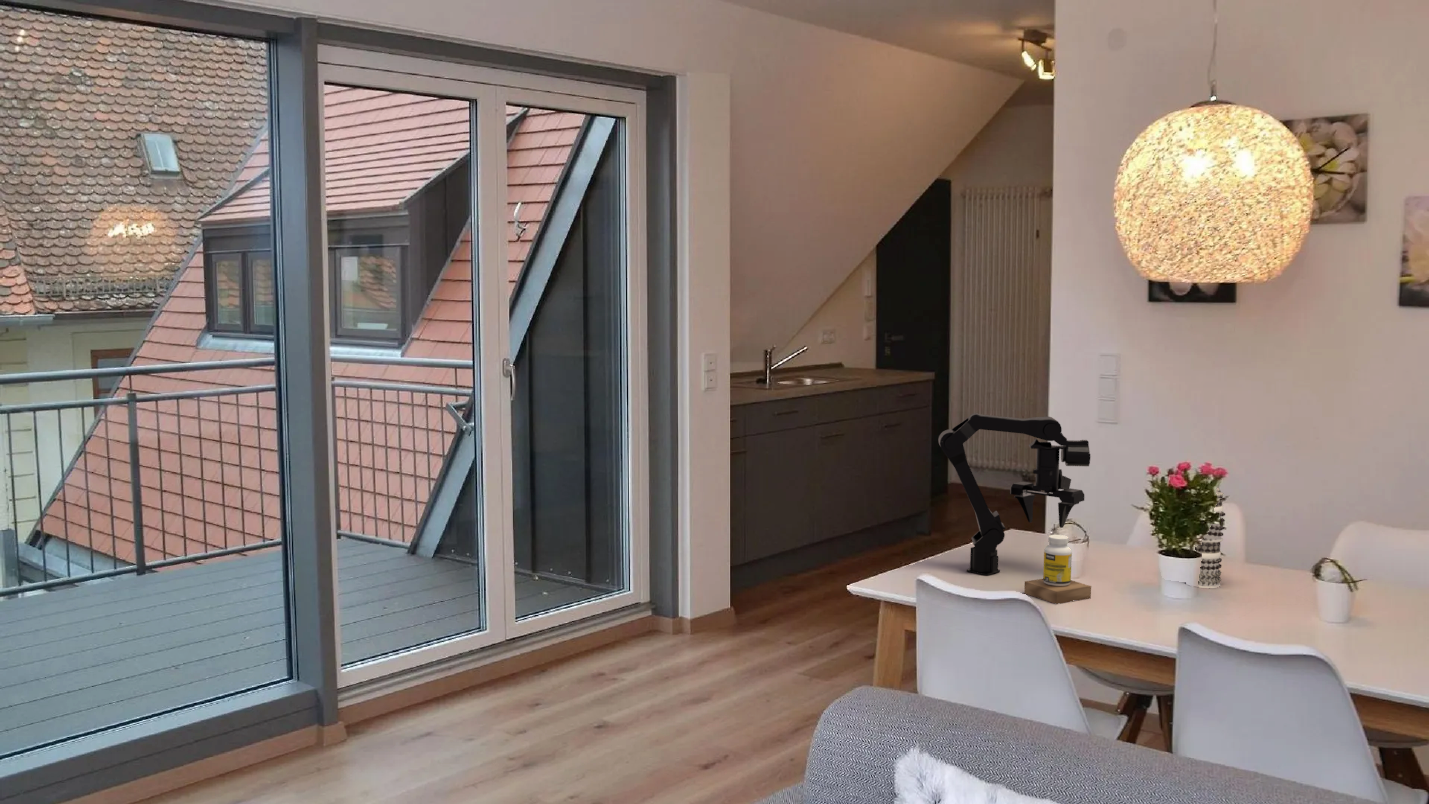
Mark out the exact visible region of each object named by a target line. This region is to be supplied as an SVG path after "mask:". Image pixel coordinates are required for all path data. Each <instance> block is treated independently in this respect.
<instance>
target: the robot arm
mask: <svg viewBox="0 0 1429 804" xmlns="http://www.w3.org/2000/svg"><path fill="white" fill-rule="evenodd" d="M1062 429H1063V428H1062V426H1061V424H1060V422H1059V421H1058V420H1056V419H1055V418H1053V417H1051V416H1047V415H1046V416H1035V417H1028V418H1021V417H1020V418H1019V417H1011V416H1010V417H1009V416H1002V415H1001V416H1000V415H990V414H989V415H988V414H982V413H981V414H980V413H978V412H973V413H971V414H970V415H969V416H968V417H966V418H965V419H964V420H963V421H961V422H960V423H958V424H957V425H955V426H954V427H953V428H951V429H946V430H943V431H942V432H941V433H940V434H939V435H938V444H939V446H940V449H941V451H942V452H943V454H944V455H945V456H946V457H947V459H948V460H949V462H950V463H951V465H952V466H953V467H954V469H955V472H956V474H957V475H958V478H959V481H960V482H961V485H962V486H963V489H964V491H965V494H966V495H967V498H968V499H969V502H970V505H971V506H972V508H973V511H974V513H975V518H976V522H977V525H978V526H977V527H978V531H977V532H976V533H975V534H974V535H973V536H971V540H972V541H971V542H972V545H973V546H971V547H970V555H969V556H970V557H969V559H970V560H969V561H970V563H969V564H970V565H969V568H967V569H966V572H967V573H968V572H969V573H973V574H976V575H977V574H978V575H981V576H990V575H993V574H996V573H997V574H998V573H999V572H1000V573H1001V569H999V555H998V549H997V547H998V546H999V545H1001V543H1002V542H1003V541H1004V539H1005V536H1006V535H1005V531H1004V530H1006V526H1005V524H1004V523H1003V522H1002V520H1001V517H1000V516H1001V515H1000V514H999V512H998V511H997V510H995V511H993V512H992V511H991V510H990V508H989V506H988V504H987V502H986V500H985V497H984V496H983V493H982V491H981V489H980V487H979V484H978V483H977V480H976V479H975V476H974V474H973V472H972V469H971V468H970V465H969V463H968V460H967V459H968V458H967V455H966V451H965V446H964V443H966V442H967V441H968V440H969V439H970V438H971V437H973V435H975V433H976V432H978V431H979V430H984V431H992V432H993V431H995V432H1003V433H1013V434H1014V433H1015V434H1022V435H1023V434H1024V435H1027V436H1029V437H1033V438H1034V440H1033V441H1032V442H1031V443H1029V444H1028V447H1029V448H1030V449H1031V450H1032V449H1033V450H1036V459H1035V460H1036V463H1035V464H1036V465H1035V469H1033V470H1032V473H1033V474H1035V484H1034V482H1027V481H1019V482H1014V483H1012V484H1011V485H1010V488H1009V490H1010V491H1009V493H1010V495H1014V499H1016V500H1017V501H1018V504H1019V505H1020V506H1021V508H1022V510H1023V512H1024V515H1025V517H1026V520H1027V522H1028V523H1033V517H1034V512H1033V511H1034V510H1033V509H1034V500H1035V497H1036V495H1039V496H1045V497H1051V498H1053V497H1054V498H1058V499H1059V500H1060V502H1058V503H1057V506H1058V509H1057V511H1058V525H1059V528H1060V529H1062V528H1064V526H1065V525H1066V521H1067V520H1068V517H1069V514H1070V512H1071V510H1072V509H1073V507H1075V506H1076V505H1079V503H1081V502H1084V501H1085V493H1084V491H1083V490H1082V489H1077V488H1070V487H1071V483H1072V478H1070V477H1067V476H1064V475H1063V470H1062V469H1060V461H1061V462H1062V463H1065V467H1090V464H1091V453H1090V452H1091V451H1090V444H1089V441H1088V440H1087V439H1081V440H1069V439H1068V438H1067V437H1066V436H1064V434H1063V433H1062ZM1038 439H1039V440H1042V441H1039V440H1038ZM1051 442H1054V443H1056V444H1057V445H1052V443H1051Z"/></svg>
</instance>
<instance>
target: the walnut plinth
mask: <svg viewBox="0 0 1429 804" xmlns="http://www.w3.org/2000/svg"><path fill="white" fill-rule="evenodd" d="M1023 586H1024V588H1023V589H1024V594H1025V595H1028V596H1031V597H1034V598H1037V599H1039V600H1043V601H1046V602H1049V603H1051V604H1052V603H1053V604H1055V603H1056V604H1055V605H1059V604H1058V603H1060V604H1067V603H1071V602H1070V601H1072V602H1074V601H1073V600H1078V601H1082V600H1083V601H1085V600H1088V599H1089V598H1090V599H1091V597H1092V585H1089V584H1085V583H1082V582H1079V581H1075V580H1072V579H1071V582H1070V584H1069V585H1067V586H1052V585H1048V584H1046V583H1044V581H1043V578H1039V579H1038V578H1037V579H1032V580H1026V581H1024V585H1023Z"/></svg>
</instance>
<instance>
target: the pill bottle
mask: <svg viewBox="0 0 1429 804" xmlns="http://www.w3.org/2000/svg"><path fill="white" fill-rule="evenodd" d="M1069 541H1070V539H1069V536H1067V535H1064V534H1063V535H1062V534H1050V535H1048V543H1049V544H1048V545H1047V546H1045V547H1044V551H1043V574H1042V575H1043V576H1042V577H1043V578H1042V579H1043V581H1044V583H1046V584H1048V585H1052V586H1067V585H1069V584H1070V582H1071V580H1072V562H1073V561H1072V559H1073V558H1072V556H1073V555H1072V554H1073V551H1072V549H1071V548H1070V547H1069V546H1068V544H1069Z"/></svg>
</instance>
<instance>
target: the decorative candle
mask: <svg viewBox="0 0 1429 804" xmlns="http://www.w3.org/2000/svg"><path fill="white" fill-rule="evenodd" d="M1216 487H1217V489H1216V494H1217V497H1218V498H1223V497H1224V495H1225V493H1224V492H1223V491H1221V489H1220V488H1219V487H1218V486H1216ZM1223 510H1224V505H1223V499H1222V500H1220V501H1219V502H1218V503H1217V505H1216V507H1215V508H1214V511H1216V512H1217V513H1220V519H1221V523H1224V522H1225V521H1226V520H1225V518H1224V517H1225V516H1226V513H1225V512H1224V511H1223ZM1224 530H1225V527H1224V526H1223V525H1222V526H1220V525H1219V524H1211V527H1210V529H1209V532H1208V535H1207V536H1205V537H1204V539H1202V545H1198V546H1197V547H1195V550H1196V551H1198V552H1200V553H1202V561H1201V567H1200V574H1199V581H1198V586H1199V588H1198V589H1209V588H1210V589H1217V587H1218V588H1220V587H1221V583H1220V582H1221V580H1222V577H1221V576H1222V571H1221V570H1220V569H1221V568H1222V564H1221V562H1222V561H1223V560H1222V558H1221V557H1222V551H1221V542H1222V541H1223V540H1224V539H1223V536H1224V533H1223V532H1222V531H1224ZM1219 586H1220V587H1219Z"/></svg>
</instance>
